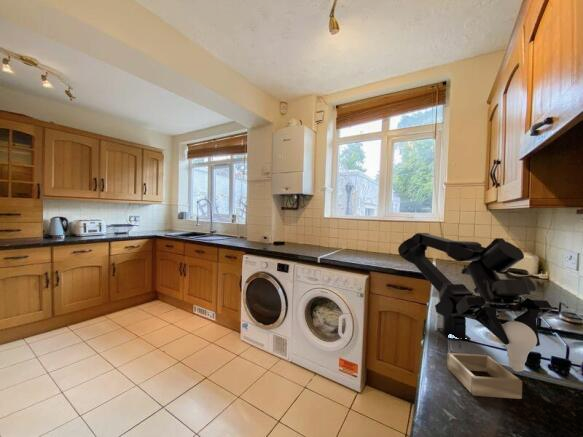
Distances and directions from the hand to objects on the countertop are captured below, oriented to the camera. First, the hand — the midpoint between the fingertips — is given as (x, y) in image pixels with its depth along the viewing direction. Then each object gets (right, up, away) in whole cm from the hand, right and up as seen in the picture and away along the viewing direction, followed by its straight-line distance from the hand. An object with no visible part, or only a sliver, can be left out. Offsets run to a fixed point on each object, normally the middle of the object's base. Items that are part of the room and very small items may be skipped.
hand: (522, 344), depth 53 cm
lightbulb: (0, -7, +1) cm, 7 cm away
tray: (-9, -8, 0) cm, 12 cm away
